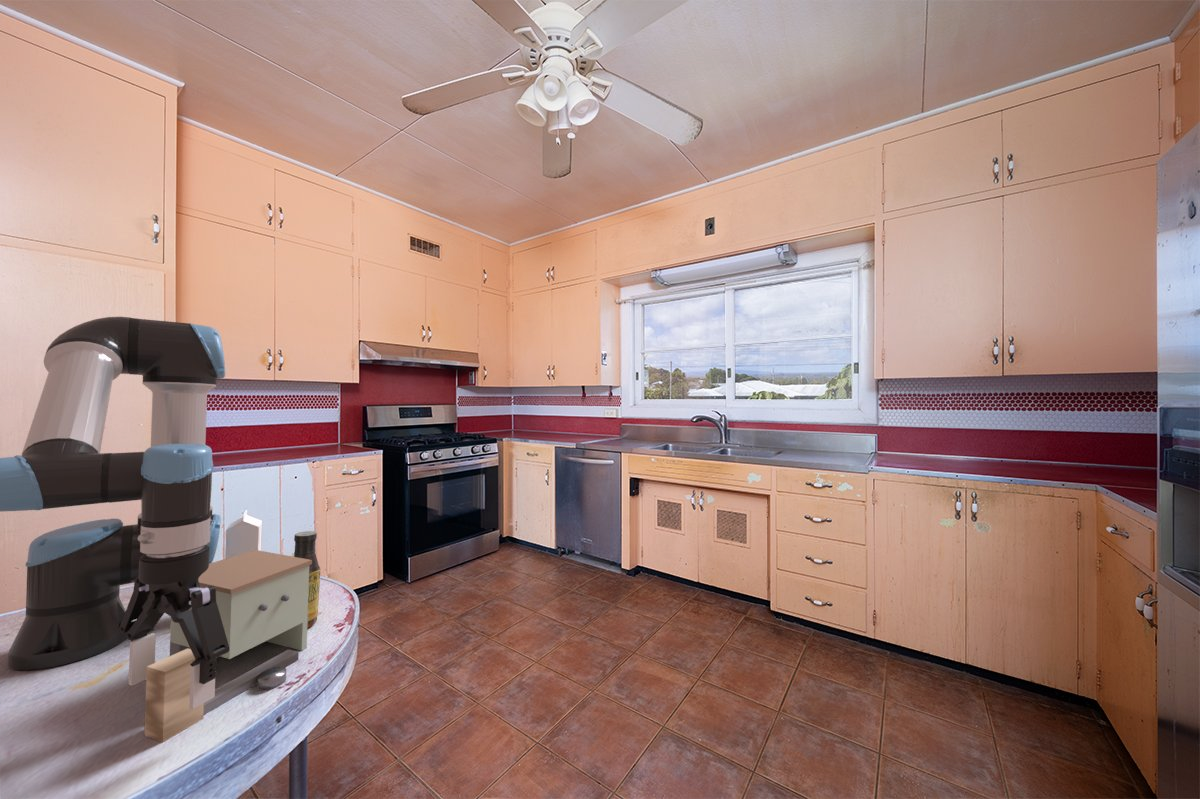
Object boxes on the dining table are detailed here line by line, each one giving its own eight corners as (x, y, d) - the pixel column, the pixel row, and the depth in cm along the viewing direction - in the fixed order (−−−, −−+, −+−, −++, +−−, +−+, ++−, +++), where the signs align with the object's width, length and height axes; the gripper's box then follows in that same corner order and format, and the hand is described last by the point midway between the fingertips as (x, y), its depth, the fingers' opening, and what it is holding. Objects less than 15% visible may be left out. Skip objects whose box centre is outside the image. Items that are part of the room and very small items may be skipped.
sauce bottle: (300, 635, 92) (303, 539, 92) (275, 631, 93) (278, 536, 93) (325, 620, 98) (328, 530, 98) (302, 616, 99) (304, 528, 99)
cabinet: (165, 673, 78) (169, 575, 78) (252, 632, 92) (255, 549, 92) (229, 694, 73) (233, 590, 73) (311, 647, 87) (313, 560, 87)
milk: (223, 613, 99) (225, 516, 99) (228, 602, 105) (230, 510, 105) (257, 607, 103) (259, 513, 103) (260, 597, 108) (262, 507, 108)
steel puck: (251, 688, 75) (251, 677, 75) (274, 674, 79) (274, 664, 79) (268, 693, 74) (269, 682, 74) (291, 679, 78) (291, 669, 78)
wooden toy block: (144, 735, 64) (146, 666, 64) (285, 656, 84) (287, 603, 84) (162, 742, 63) (165, 672, 63) (301, 660, 83) (303, 607, 83)
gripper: (89, 544, 65) (84, 686, 66) (204, 572, 58) (198, 731, 58) (153, 530, 73) (148, 657, 73) (262, 553, 65) (257, 695, 65)
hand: (171, 691), depth 66 cm, fingers open, 13 cm apart
